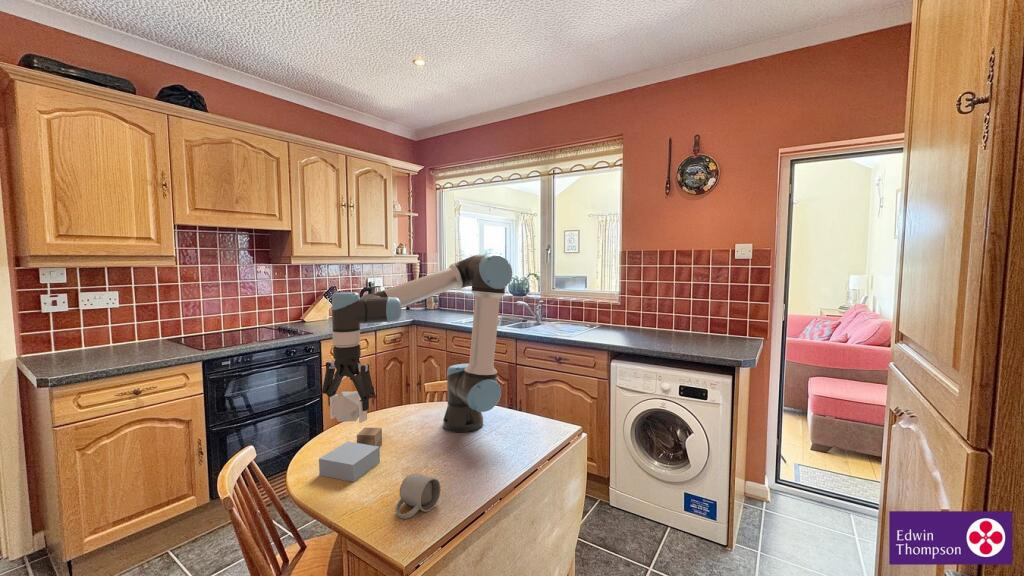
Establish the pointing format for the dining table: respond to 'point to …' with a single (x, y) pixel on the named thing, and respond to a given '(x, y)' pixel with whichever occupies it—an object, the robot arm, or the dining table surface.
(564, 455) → the dining table surface
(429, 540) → the dining table surface
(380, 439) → the walnut cube
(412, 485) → the ceramic mug
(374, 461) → the plinth
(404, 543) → the dining table surface
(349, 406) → the die
